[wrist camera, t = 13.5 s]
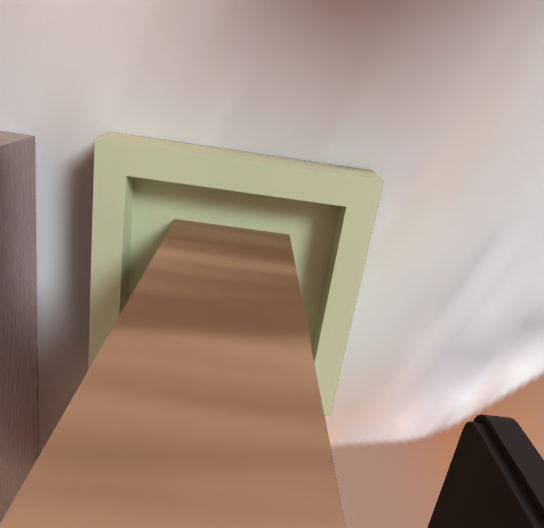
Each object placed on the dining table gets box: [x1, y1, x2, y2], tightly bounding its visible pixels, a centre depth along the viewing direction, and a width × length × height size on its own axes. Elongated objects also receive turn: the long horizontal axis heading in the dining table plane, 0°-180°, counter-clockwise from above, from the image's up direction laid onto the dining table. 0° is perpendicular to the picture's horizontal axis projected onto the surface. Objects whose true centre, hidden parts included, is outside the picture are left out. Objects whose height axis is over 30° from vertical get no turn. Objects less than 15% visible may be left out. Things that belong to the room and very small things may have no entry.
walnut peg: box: [0, 219, 346, 528], centre depth 11 cm, size 4×4×16 cm
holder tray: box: [88, 132, 384, 416], centre depth 18 cm, size 9×9×2 cm
